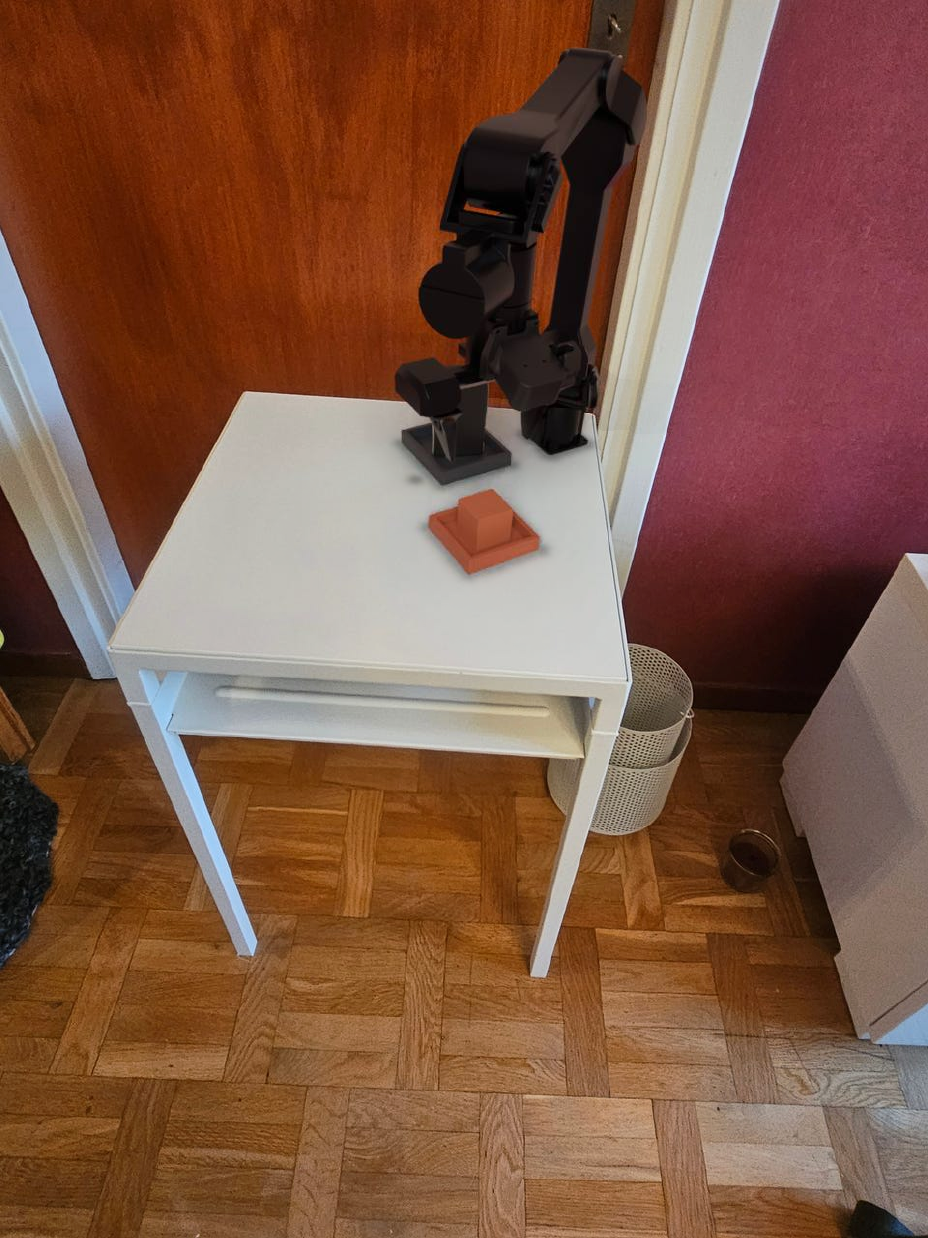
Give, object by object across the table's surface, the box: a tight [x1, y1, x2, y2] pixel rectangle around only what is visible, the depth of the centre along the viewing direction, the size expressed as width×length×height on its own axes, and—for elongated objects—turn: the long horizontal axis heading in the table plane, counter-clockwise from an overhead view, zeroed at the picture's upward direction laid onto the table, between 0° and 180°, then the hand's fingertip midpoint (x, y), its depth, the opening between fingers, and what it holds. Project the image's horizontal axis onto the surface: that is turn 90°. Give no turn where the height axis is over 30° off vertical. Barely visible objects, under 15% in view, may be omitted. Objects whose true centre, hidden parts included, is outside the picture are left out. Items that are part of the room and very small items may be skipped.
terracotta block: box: [457, 488, 514, 552], centre depth 84 cm, size 4×4×4 cm
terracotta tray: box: [428, 505, 541, 575], centre depth 85 cm, size 9×9×2 cm
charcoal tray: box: [401, 421, 513, 486], centre depth 97 cm, size 10×11×2 cm
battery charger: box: [432, 364, 490, 456], centre depth 94 cm, size 7×4×11 cm, turn 98°
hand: (489, 448), depth 77 cm, fingers open, 9 cm apart
